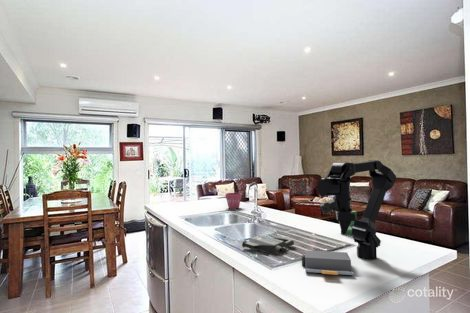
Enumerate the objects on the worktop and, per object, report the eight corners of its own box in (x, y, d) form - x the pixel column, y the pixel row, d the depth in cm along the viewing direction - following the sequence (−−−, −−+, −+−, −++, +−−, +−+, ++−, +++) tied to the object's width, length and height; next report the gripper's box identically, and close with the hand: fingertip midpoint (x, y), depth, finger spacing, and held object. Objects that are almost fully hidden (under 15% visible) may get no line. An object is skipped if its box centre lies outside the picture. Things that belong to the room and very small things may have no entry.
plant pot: (245, 208, 230) (244, 193, 231) (231, 210, 223) (230, 195, 223) (236, 206, 243) (235, 192, 243) (222, 208, 235) (222, 193, 235)
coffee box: (357, 234, 144) (356, 210, 144) (357, 236, 141) (356, 211, 141) (341, 233, 148) (340, 209, 148) (340, 234, 145) (340, 210, 145)
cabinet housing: (347, 265, 104) (347, 252, 104) (351, 274, 96) (350, 260, 96) (301, 262, 108) (301, 250, 108) (302, 270, 100) (301, 257, 100)
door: (351, 271, 96) (355, 273, 89) (351, 274, 95) (355, 276, 88) (305, 268, 99) (305, 269, 92) (305, 270, 99) (305, 272, 92)
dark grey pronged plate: (282, 258, 114) (282, 245, 114) (241, 250, 124) (240, 239, 124) (294, 247, 128) (294, 236, 128) (256, 241, 138) (256, 231, 138)
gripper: (319, 191, 115) (320, 227, 115) (322, 197, 97) (324, 240, 97) (346, 191, 113) (347, 228, 112) (355, 197, 94) (357, 242, 94)
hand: (343, 234), depth 104 cm, fingers closed
